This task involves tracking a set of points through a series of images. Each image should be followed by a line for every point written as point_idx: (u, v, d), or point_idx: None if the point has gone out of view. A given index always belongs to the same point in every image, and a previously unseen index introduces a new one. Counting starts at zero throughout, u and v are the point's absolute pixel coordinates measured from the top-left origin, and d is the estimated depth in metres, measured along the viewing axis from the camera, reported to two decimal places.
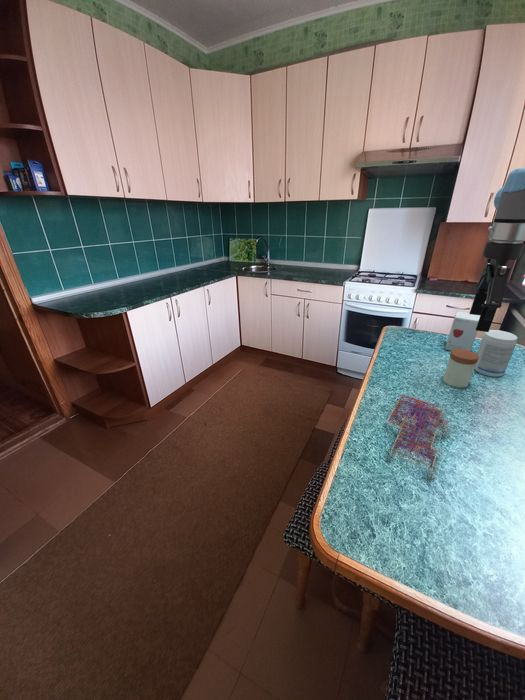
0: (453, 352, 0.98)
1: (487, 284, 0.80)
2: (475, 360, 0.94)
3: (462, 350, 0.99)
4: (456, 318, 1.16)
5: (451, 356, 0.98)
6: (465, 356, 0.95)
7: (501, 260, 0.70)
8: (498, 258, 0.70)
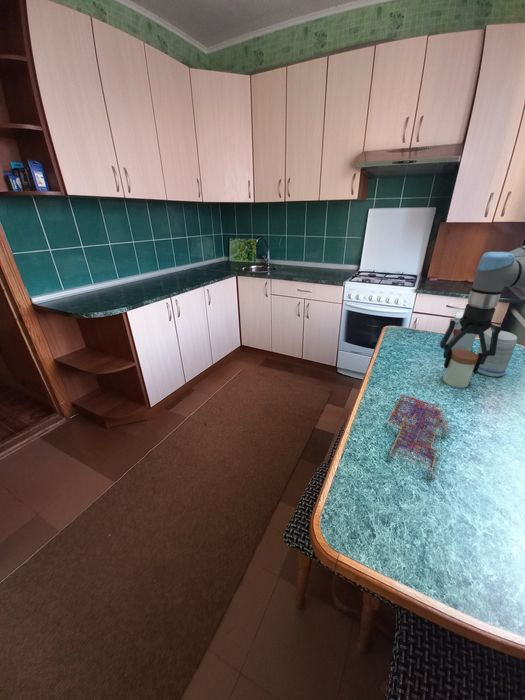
0: (453, 352, 0.98)
1: (480, 344, 0.93)
2: (475, 360, 0.94)
3: (462, 350, 0.99)
4: (456, 318, 1.16)
5: (451, 356, 0.98)
6: (465, 356, 0.95)
7: (463, 315, 0.93)
8: None
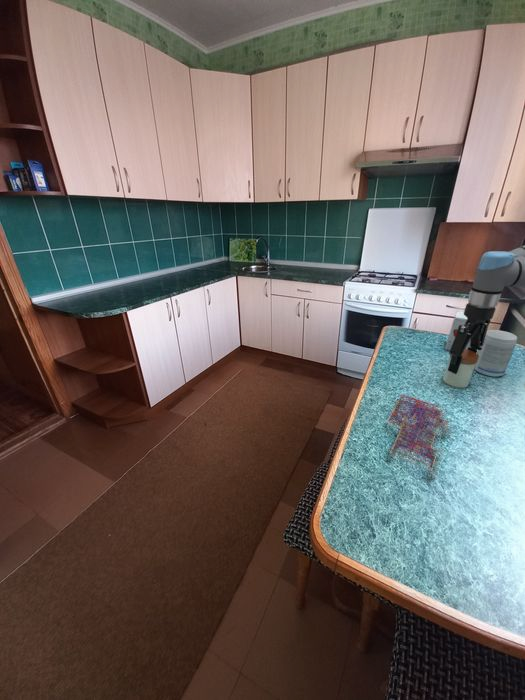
0: None
1: (475, 340, 0.96)
2: None
3: None
4: (456, 318, 1.16)
5: (461, 360, 0.94)
6: (470, 355, 0.95)
7: (469, 318, 0.89)
8: (467, 316, 0.90)
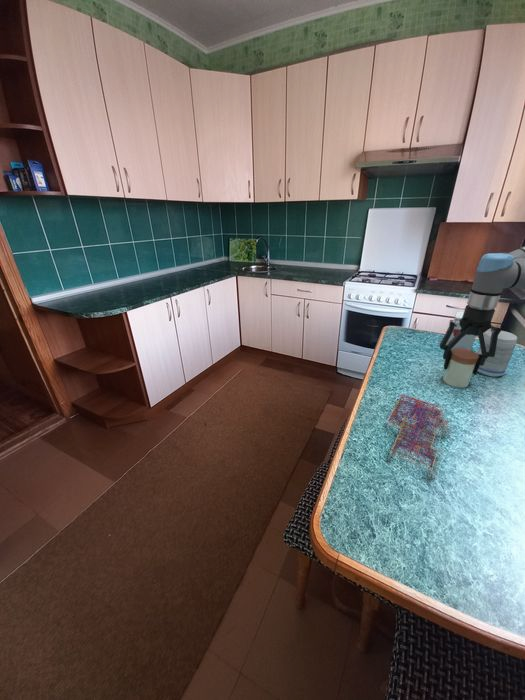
0: (465, 357, 0.94)
1: (480, 345, 0.93)
2: None
3: (455, 351, 0.98)
4: (456, 318, 1.16)
5: (467, 361, 0.94)
6: (471, 354, 0.95)
7: None
8: (463, 314, 0.93)
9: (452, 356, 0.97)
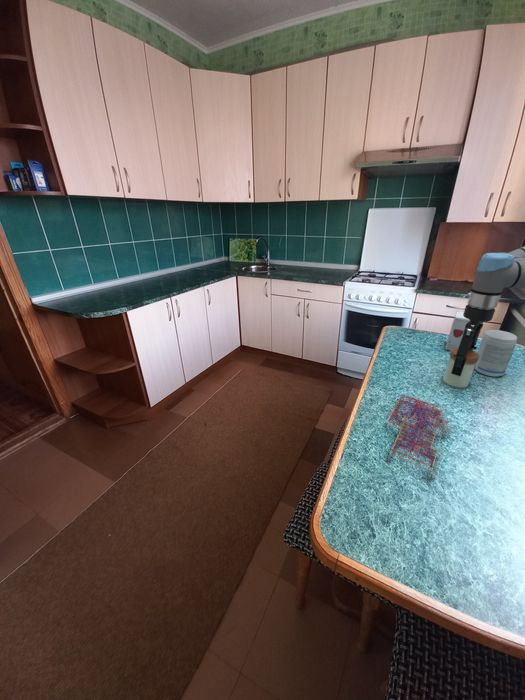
0: (476, 356, 0.94)
1: None
2: None
3: None
4: (456, 318, 1.16)
5: (478, 358, 0.95)
6: None
7: (472, 320, 0.89)
8: (470, 319, 0.89)
9: (467, 361, 0.94)
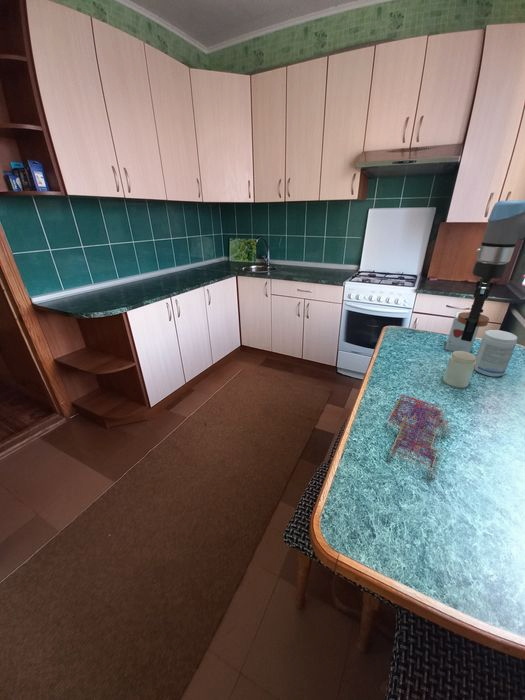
0: (486, 318, 0.87)
1: None
2: None
3: None
4: (456, 318, 1.16)
5: None
6: None
7: (485, 278, 0.81)
8: (482, 276, 0.81)
9: (478, 324, 0.86)
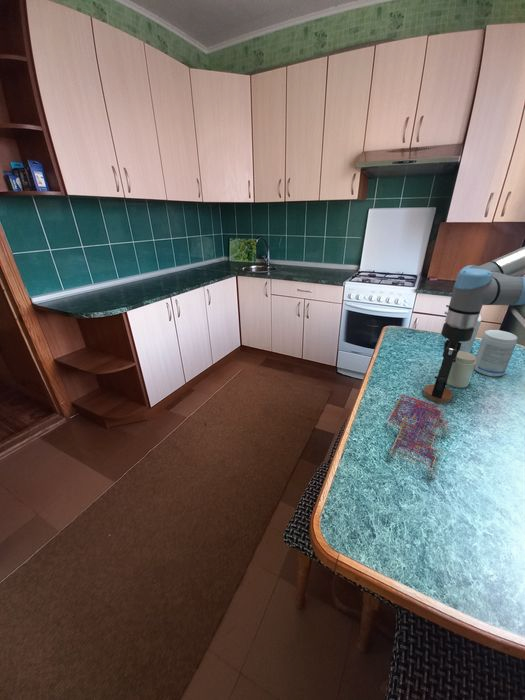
0: (449, 394, 0.92)
1: None
2: None
3: None
4: None
5: None
6: None
7: (452, 341, 0.82)
8: (450, 339, 0.83)
9: (442, 401, 0.91)
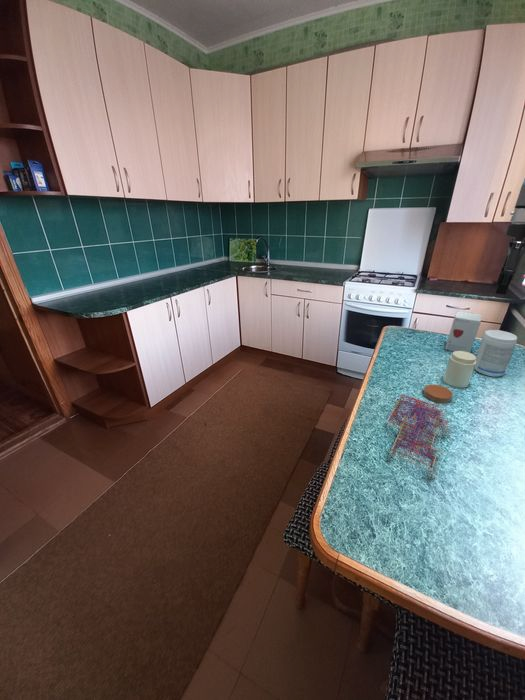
0: (449, 394, 0.92)
1: None
2: None
3: (436, 395, 0.92)
4: (456, 318, 1.16)
5: None
6: (440, 388, 0.95)
7: (518, 237, 0.91)
8: (516, 236, 0.91)
9: (442, 401, 0.91)
